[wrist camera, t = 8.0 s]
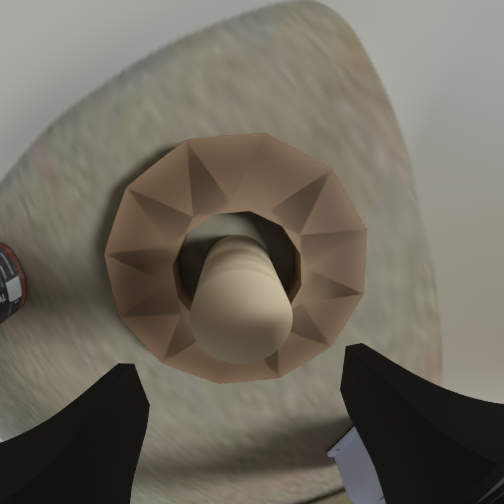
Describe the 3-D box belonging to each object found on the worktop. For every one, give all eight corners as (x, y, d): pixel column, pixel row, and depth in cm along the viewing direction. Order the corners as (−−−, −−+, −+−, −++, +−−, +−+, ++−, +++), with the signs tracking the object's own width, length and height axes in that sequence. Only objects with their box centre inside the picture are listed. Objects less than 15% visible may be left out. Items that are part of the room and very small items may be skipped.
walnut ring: (285, 386, 20) (289, 403, 18) (98, 314, 18) (86, 327, 16) (388, 210, 17) (404, 214, 15) (176, 102, 15) (169, 93, 13)
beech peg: (251, 306, 18) (263, 374, 12) (194, 281, 18) (175, 342, 11) (281, 252, 17) (311, 299, 11) (221, 223, 17) (215, 255, 10)
